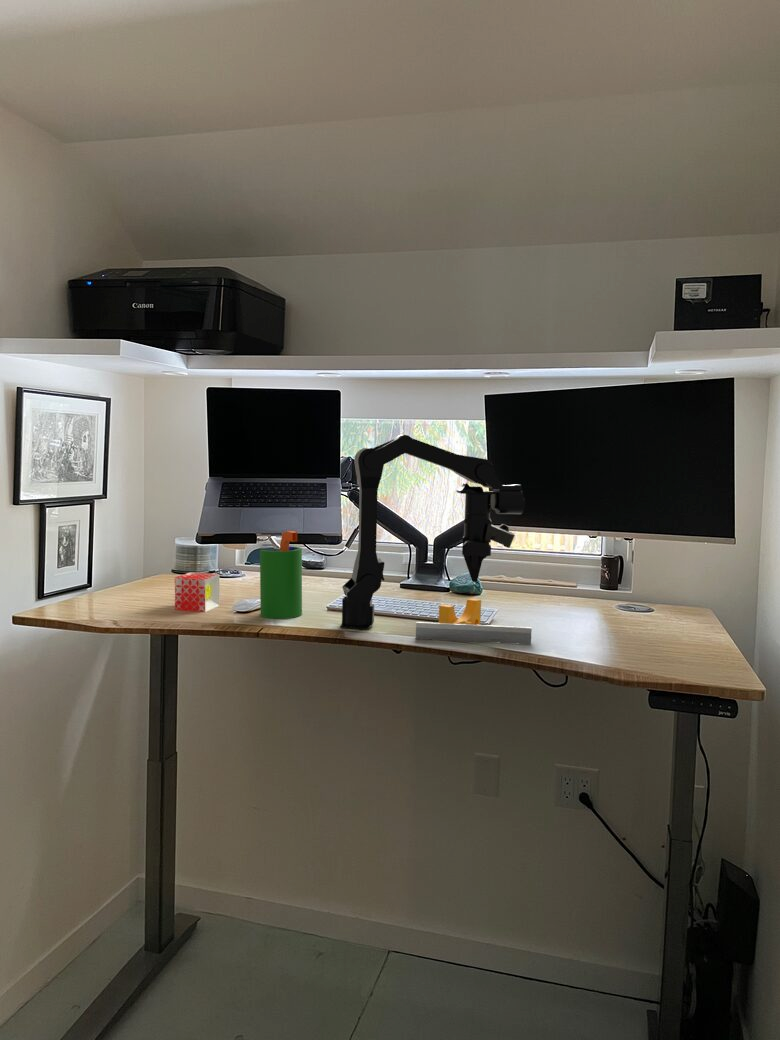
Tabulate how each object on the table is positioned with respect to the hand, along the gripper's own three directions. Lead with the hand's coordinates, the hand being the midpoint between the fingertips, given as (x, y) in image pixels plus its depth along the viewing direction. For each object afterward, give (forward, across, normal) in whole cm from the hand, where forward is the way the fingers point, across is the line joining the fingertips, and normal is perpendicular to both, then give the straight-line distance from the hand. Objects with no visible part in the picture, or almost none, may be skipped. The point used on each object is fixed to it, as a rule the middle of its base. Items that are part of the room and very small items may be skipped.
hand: (474, 581), depth 182 cm
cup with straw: (+10, +1, +45) cm, 46 cm away
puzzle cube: (+11, +5, +67) cm, 68 cm away
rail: (+10, -16, 0) cm, 19 cm away
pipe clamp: (+10, -8, +2) cm, 13 cm away
